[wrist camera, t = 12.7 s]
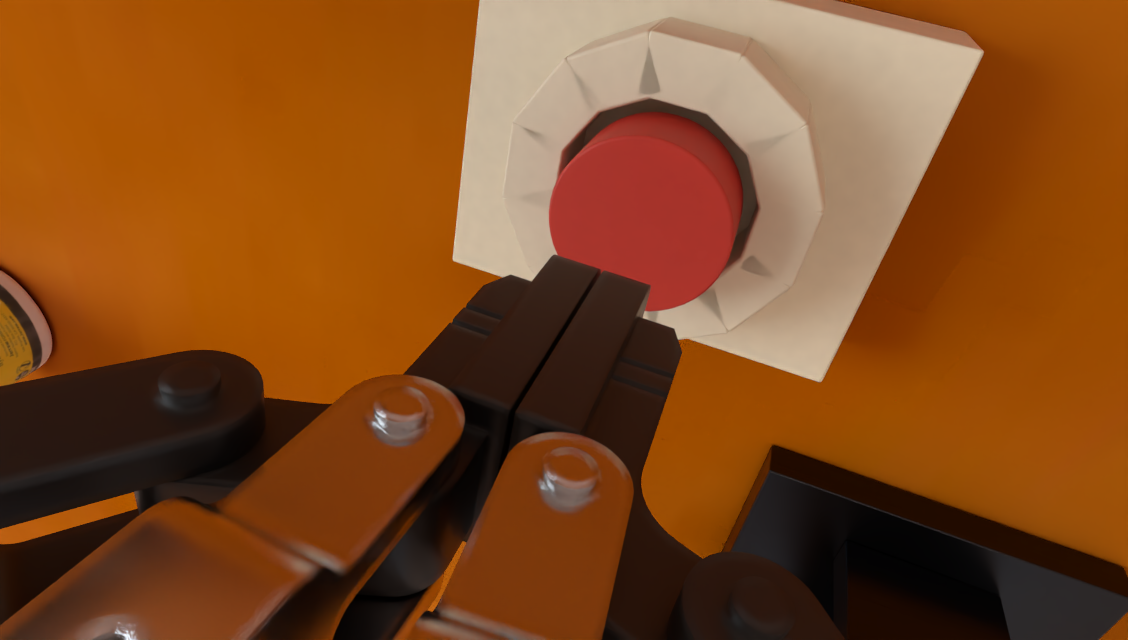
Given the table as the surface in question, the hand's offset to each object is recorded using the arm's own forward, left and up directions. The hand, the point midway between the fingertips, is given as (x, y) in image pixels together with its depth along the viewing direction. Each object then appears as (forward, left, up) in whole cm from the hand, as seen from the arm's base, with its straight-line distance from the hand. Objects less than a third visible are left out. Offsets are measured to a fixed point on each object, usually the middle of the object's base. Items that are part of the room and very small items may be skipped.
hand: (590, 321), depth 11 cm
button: (0, 0, -5) cm, 5 cm away
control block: (0, 0, -9) cm, 9 cm away
